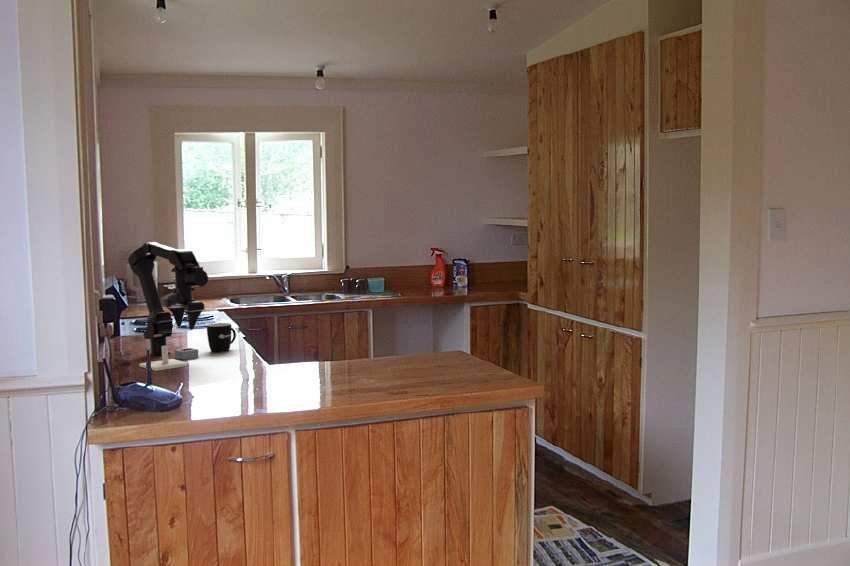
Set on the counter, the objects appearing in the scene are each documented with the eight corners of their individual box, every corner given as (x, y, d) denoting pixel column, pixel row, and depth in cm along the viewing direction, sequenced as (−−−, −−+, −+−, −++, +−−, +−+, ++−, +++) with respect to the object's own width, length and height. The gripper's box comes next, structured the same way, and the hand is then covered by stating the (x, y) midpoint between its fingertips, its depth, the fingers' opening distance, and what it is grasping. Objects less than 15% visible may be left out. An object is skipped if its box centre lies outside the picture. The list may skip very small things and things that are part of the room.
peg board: (139, 366, 280) (138, 346, 279) (172, 361, 288) (171, 341, 287) (155, 370, 271) (154, 350, 270) (188, 365, 279) (187, 345, 279)
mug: (218, 354, 302) (217, 326, 301) (202, 352, 307) (201, 325, 307) (243, 349, 312) (242, 323, 311) (228, 347, 317) (227, 321, 316)
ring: (175, 358, 295) (174, 349, 295) (190, 355, 299) (190, 347, 299) (183, 360, 291) (182, 351, 290) (198, 357, 295) (198, 349, 295)
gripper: (150, 284, 293) (151, 328, 295) (175, 288, 280) (176, 333, 281) (179, 282, 301) (180, 324, 303) (204, 286, 288) (205, 330, 289)
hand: (185, 328), depth 294 cm, fingers open, 9 cm apart
